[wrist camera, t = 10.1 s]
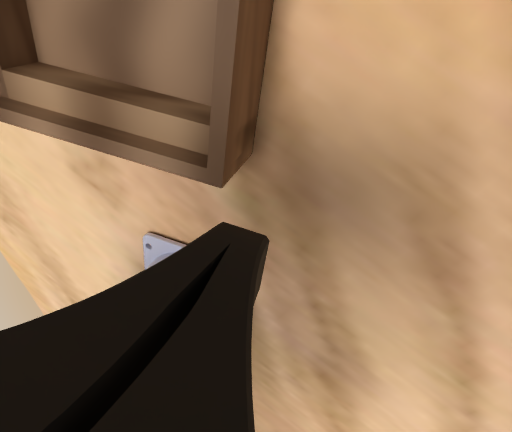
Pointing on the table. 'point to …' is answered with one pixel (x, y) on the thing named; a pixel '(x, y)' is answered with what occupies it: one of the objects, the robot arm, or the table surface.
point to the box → (139, 78)
